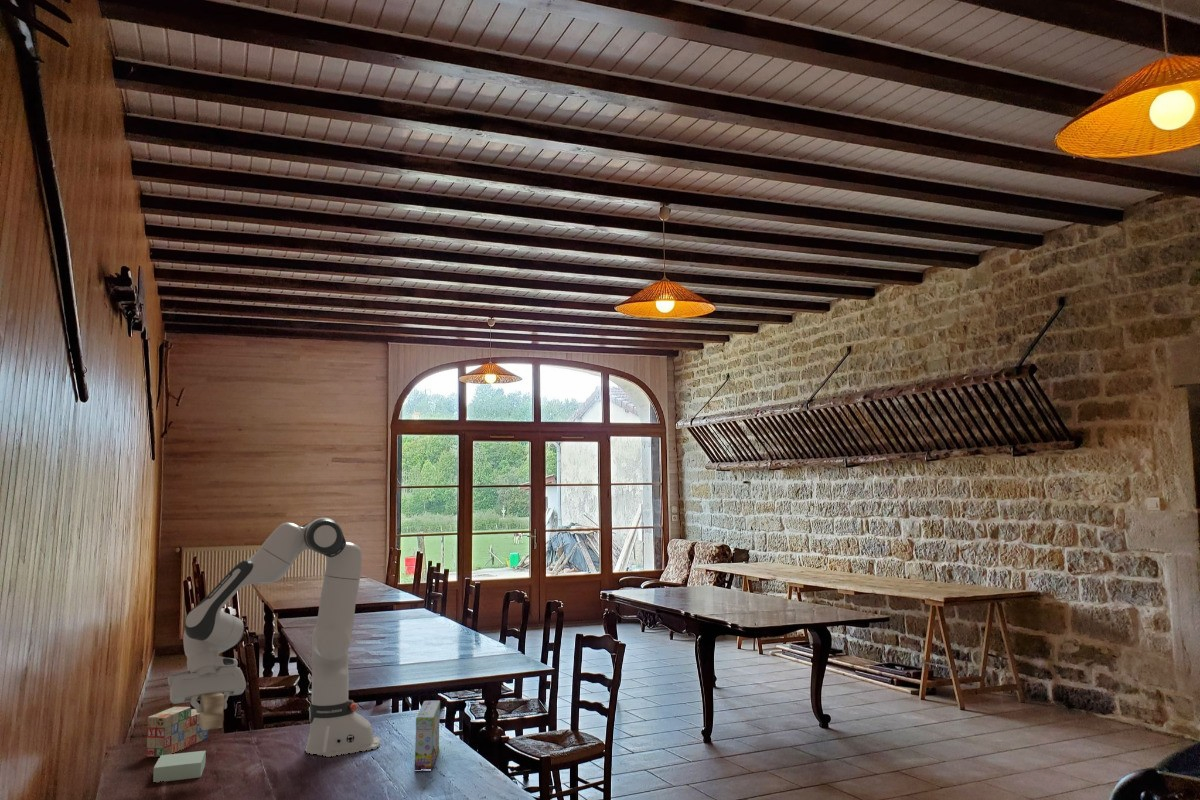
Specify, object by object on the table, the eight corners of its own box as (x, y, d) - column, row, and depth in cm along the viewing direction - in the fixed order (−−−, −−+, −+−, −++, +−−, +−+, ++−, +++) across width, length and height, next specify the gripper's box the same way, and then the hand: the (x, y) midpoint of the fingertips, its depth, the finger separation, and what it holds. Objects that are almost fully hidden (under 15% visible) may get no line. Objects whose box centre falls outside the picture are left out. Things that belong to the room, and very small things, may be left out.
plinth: (205, 764, 247) (205, 750, 248) (200, 777, 236) (201, 762, 236) (160, 769, 243) (160, 755, 244) (153, 782, 232) (153, 767, 233)
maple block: (217, 723, 243) (219, 691, 244) (222, 727, 239) (224, 694, 240) (199, 726, 240) (200, 694, 241) (203, 730, 236) (205, 697, 237)
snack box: (433, 771, 237) (434, 717, 239) (413, 772, 237) (414, 717, 238) (440, 749, 258) (440, 699, 260) (422, 750, 258) (422, 699, 259)
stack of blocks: (191, 737, 276) (193, 699, 277) (208, 738, 275) (209, 699, 276) (145, 758, 255) (147, 716, 256) (163, 758, 254) (165, 717, 255)
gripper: (168, 667, 240) (175, 709, 232) (242, 658, 253) (251, 697, 245) (164, 680, 243) (170, 722, 235) (237, 671, 256) (245, 710, 247)
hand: (212, 709), depth 240 cm, fingers closed on maple block, 5 cm apart
